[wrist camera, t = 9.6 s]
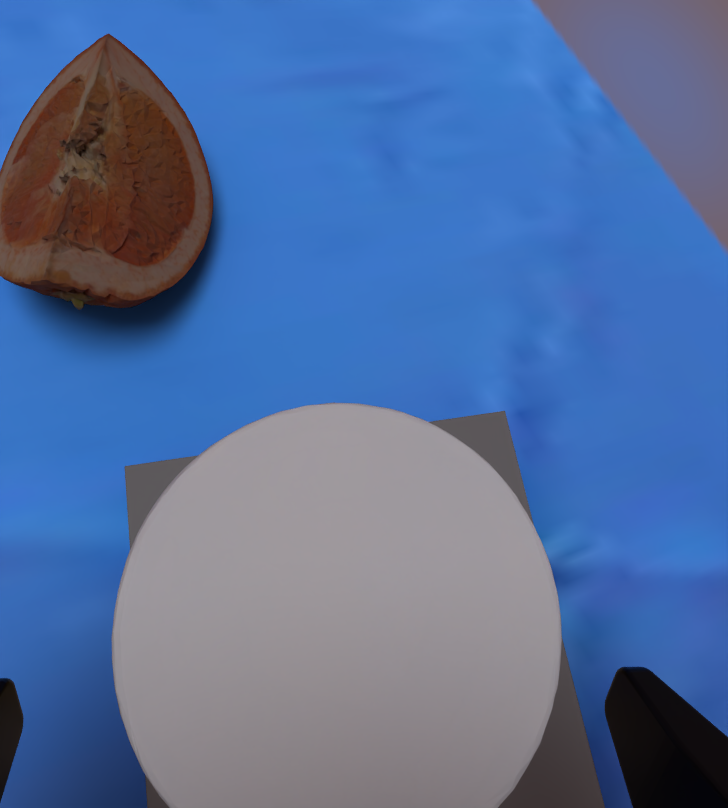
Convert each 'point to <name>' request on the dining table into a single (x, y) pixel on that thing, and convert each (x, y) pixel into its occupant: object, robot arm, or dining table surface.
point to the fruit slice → (103, 185)
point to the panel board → (565, 733)
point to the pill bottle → (336, 621)
